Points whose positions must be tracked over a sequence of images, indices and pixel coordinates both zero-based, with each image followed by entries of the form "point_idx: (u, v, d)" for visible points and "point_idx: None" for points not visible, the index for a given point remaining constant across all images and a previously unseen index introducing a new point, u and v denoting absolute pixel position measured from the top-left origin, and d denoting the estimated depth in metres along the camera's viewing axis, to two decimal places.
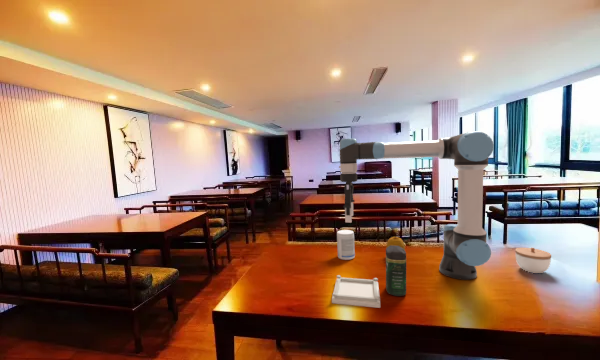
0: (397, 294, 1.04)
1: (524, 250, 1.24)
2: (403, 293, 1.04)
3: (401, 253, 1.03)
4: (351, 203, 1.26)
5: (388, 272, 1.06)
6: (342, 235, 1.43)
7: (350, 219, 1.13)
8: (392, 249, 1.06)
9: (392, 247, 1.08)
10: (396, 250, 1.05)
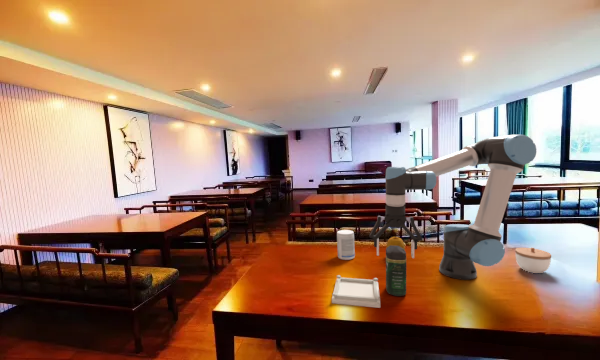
0: (397, 294, 1.04)
1: (524, 250, 1.24)
2: (403, 293, 1.04)
3: (401, 253, 1.03)
4: (412, 242, 1.05)
5: (388, 272, 1.06)
6: (342, 235, 1.43)
7: (377, 252, 1.08)
8: (392, 249, 1.06)
9: (392, 247, 1.08)
10: (396, 250, 1.05)
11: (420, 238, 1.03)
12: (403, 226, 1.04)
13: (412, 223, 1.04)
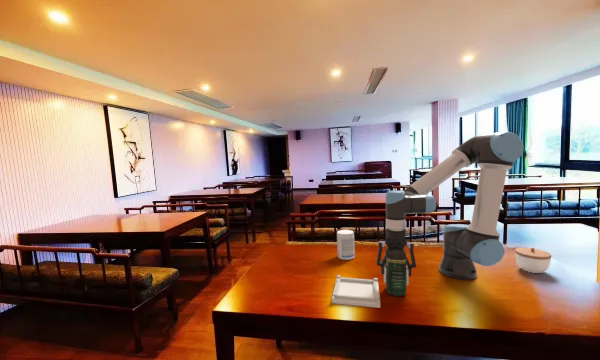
0: (397, 294, 1.04)
1: (524, 250, 1.24)
2: (403, 293, 1.04)
3: (401, 253, 1.03)
4: (406, 269, 1.06)
5: (388, 272, 1.06)
6: (342, 235, 1.43)
7: (384, 279, 1.08)
8: None
9: None
10: (395, 250, 1.05)
11: (414, 265, 1.05)
12: None
13: (411, 249, 1.05)
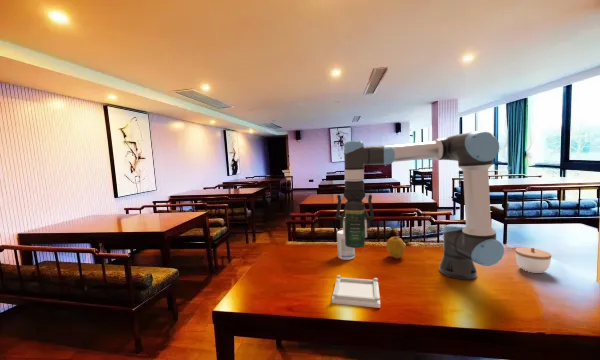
0: (354, 246, 1.01)
1: (524, 250, 1.24)
2: (360, 245, 1.01)
3: (358, 203, 1.01)
4: None
5: (346, 224, 1.03)
6: (342, 235, 1.43)
7: (343, 233, 1.06)
8: None
9: None
10: (353, 201, 1.02)
11: (372, 217, 1.02)
12: (360, 202, 1.03)
13: (369, 200, 1.02)
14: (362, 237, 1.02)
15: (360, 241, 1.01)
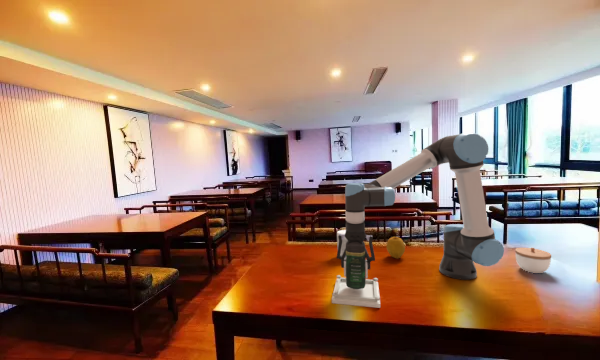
0: (355, 287, 1.03)
1: (524, 250, 1.24)
2: (361, 286, 1.02)
3: (359, 246, 1.02)
4: None
5: (347, 265, 1.05)
6: None
7: (344, 272, 1.07)
8: None
9: None
10: (354, 243, 1.03)
11: (373, 258, 1.04)
12: None
13: (370, 242, 1.03)
14: (363, 278, 1.03)
15: (361, 283, 1.02)
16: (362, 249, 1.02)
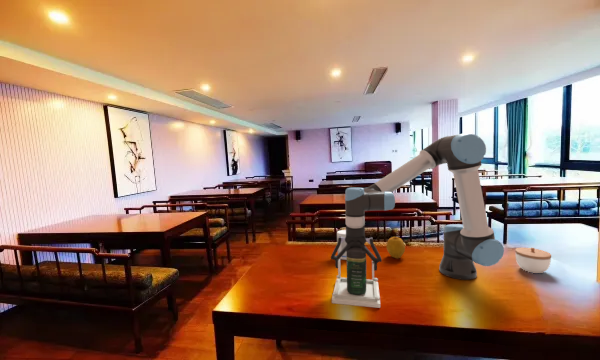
0: (356, 293, 1.03)
1: (524, 250, 1.24)
2: (362, 292, 1.03)
3: (360, 252, 1.02)
4: (372, 263, 1.05)
5: (348, 271, 1.05)
6: (342, 235, 1.43)
7: (338, 273, 1.08)
8: (352, 248, 1.05)
9: None
10: (355, 249, 1.03)
11: (379, 259, 1.03)
12: (362, 247, 1.04)
13: (371, 244, 1.03)
14: (364, 284, 1.03)
15: (362, 288, 1.03)
16: (363, 255, 1.02)
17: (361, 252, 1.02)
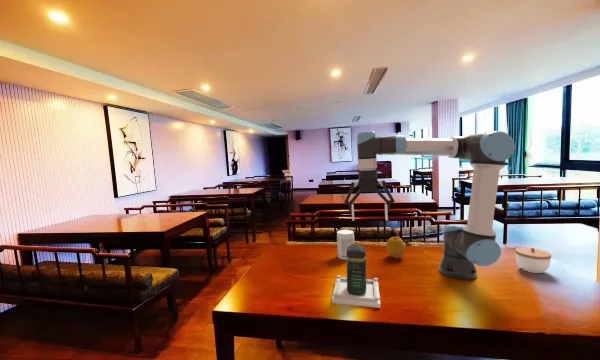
0: (356, 293, 1.03)
1: (524, 250, 1.24)
2: (362, 292, 1.03)
3: (360, 252, 1.02)
4: (385, 205, 1.07)
5: (348, 271, 1.05)
6: (342, 235, 1.43)
7: (352, 217, 1.10)
8: (352, 248, 1.05)
9: (353, 246, 1.07)
10: (355, 249, 1.03)
11: (392, 200, 1.06)
12: (376, 189, 1.06)
13: (384, 186, 1.06)
14: (364, 284, 1.03)
15: (362, 288, 1.03)
16: (363, 255, 1.02)
17: (361, 252, 1.02)
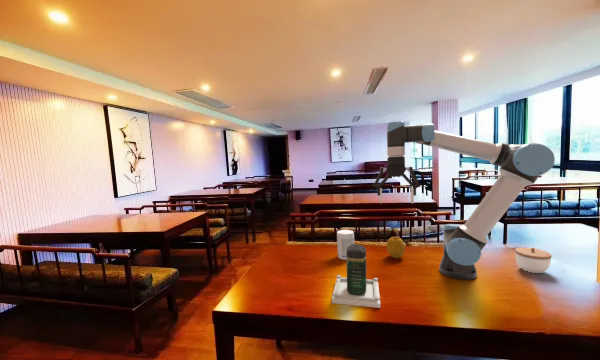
0: (356, 293, 1.03)
1: (524, 250, 1.24)
2: (362, 292, 1.03)
3: (360, 252, 1.02)
4: (411, 189, 1.18)
5: (348, 271, 1.05)
6: (342, 235, 1.43)
7: (380, 200, 1.21)
8: (352, 248, 1.05)
9: (353, 246, 1.07)
10: (355, 249, 1.03)
11: (418, 185, 1.16)
12: (403, 175, 1.17)
13: (411, 172, 1.16)
14: (364, 284, 1.03)
15: (362, 288, 1.03)
16: (363, 255, 1.02)
17: (361, 252, 1.02)
